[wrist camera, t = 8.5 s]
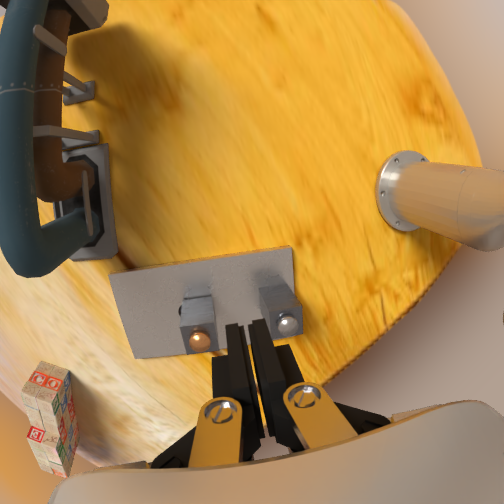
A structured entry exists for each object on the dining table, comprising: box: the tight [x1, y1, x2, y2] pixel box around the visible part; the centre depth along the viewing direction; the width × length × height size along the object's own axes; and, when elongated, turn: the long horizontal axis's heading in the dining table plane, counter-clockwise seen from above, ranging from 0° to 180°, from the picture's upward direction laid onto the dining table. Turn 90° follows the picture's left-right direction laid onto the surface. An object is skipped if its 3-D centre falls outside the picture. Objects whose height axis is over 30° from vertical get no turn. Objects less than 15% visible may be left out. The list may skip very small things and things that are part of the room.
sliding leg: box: [180, 296, 219, 355], centre depth 36 cm, size 4×4×8 cm
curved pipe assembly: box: [0, 0, 118, 278], centre depth 22 cm, size 35×9×21 cm, turn 2°
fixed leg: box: [258, 283, 303, 340], centre depth 38 cm, size 4×4×8 cm
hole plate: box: [108, 245, 296, 359], centre depth 41 cm, size 25×14×1 cm, turn 96°
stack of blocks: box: [21, 361, 80, 478], centre depth 38 cm, size 21×6×12 cm, turn 165°
